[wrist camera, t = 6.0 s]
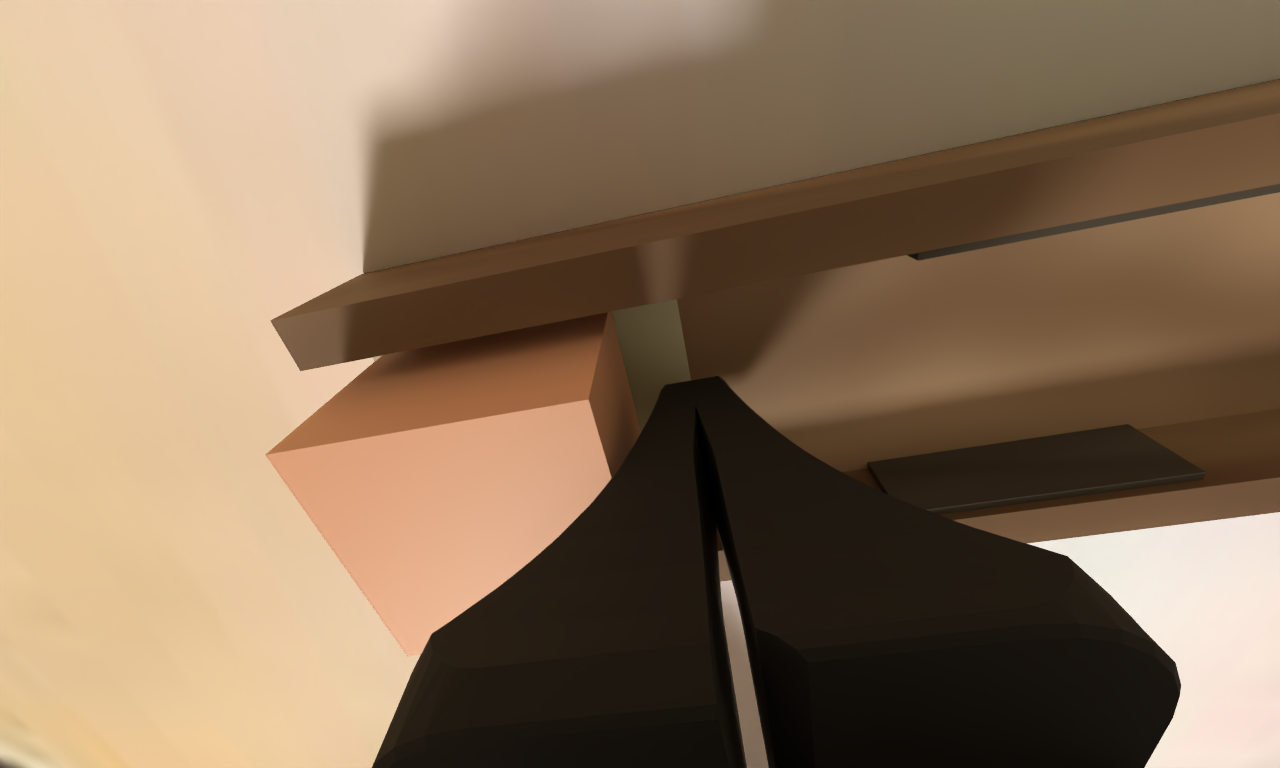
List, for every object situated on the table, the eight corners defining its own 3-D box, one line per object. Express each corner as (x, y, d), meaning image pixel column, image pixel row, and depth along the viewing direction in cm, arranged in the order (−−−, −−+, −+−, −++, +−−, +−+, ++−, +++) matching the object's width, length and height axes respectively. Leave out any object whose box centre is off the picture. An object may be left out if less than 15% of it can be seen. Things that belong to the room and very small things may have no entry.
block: (653, 485, 12) (655, 627, 9) (473, 512, 13) (407, 655, 9) (609, 305, 10) (587, 399, 7) (392, 346, 11) (265, 454, 7)
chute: (1339, 403, 12) (1530, 480, 9) (483, 527, 15) (447, 615, 12) (1552, 20, 8) (1964, -28, 6) (362, 274, 11) (270, 320, 8)
